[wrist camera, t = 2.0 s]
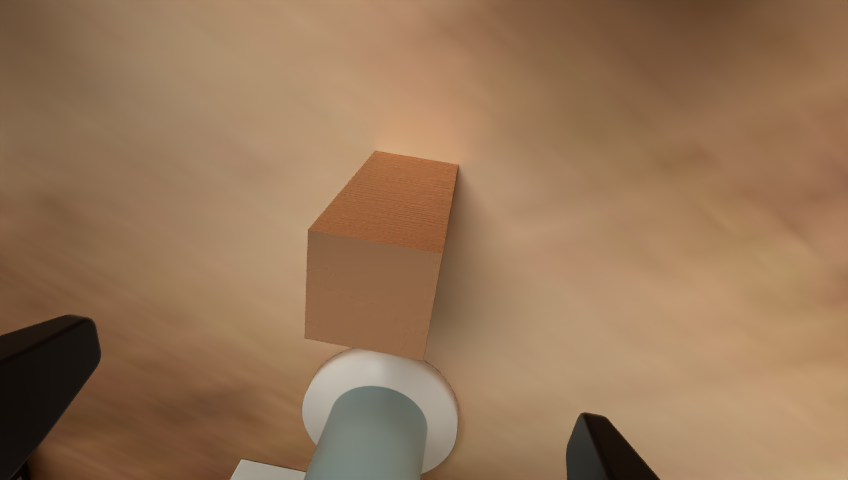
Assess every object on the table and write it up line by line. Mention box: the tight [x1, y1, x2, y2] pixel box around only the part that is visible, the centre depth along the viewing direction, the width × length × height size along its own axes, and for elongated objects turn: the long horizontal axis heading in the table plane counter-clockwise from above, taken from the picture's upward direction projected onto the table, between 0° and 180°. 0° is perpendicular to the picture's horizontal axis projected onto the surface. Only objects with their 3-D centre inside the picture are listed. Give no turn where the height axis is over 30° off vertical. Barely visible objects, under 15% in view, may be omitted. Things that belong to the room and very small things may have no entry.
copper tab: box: [305, 151, 458, 361], centre depth 14 cm, size 3×3×7 cm
